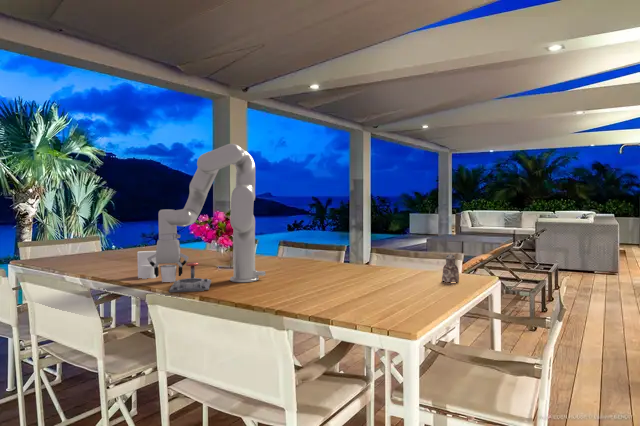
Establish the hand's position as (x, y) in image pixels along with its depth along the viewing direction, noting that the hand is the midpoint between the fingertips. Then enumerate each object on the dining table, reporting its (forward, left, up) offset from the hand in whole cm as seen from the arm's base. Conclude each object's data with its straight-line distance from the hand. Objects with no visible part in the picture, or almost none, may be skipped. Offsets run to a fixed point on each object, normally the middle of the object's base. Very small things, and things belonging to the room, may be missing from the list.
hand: (168, 276), depth 197 cm
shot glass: (0, 0, -3) cm, 3 cm away
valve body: (-11, +14, -2) cm, 18 cm away
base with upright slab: (+11, -13, -3) cm, 17 cm away
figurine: (-121, +26, -3) cm, 124 cm away
